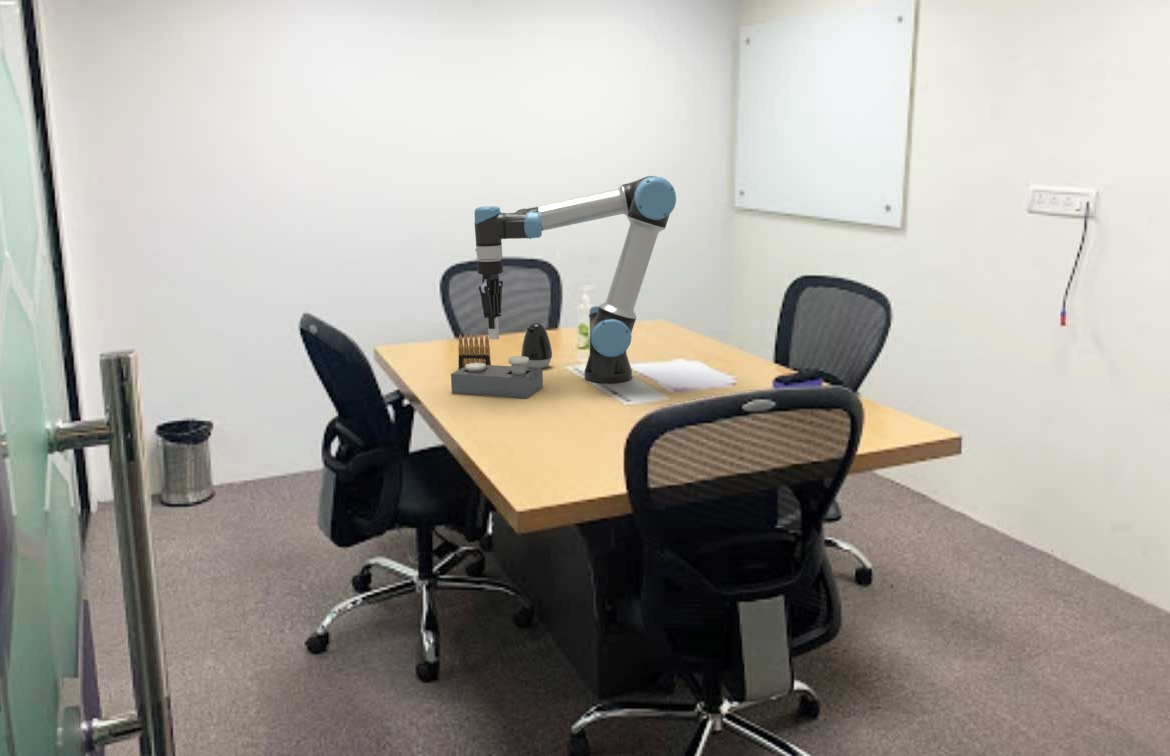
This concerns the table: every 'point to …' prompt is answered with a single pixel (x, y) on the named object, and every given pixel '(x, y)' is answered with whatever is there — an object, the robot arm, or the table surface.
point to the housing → (497, 382)
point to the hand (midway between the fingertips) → (494, 338)
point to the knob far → (475, 367)
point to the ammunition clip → (473, 351)
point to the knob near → (518, 364)
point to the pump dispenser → (537, 346)
